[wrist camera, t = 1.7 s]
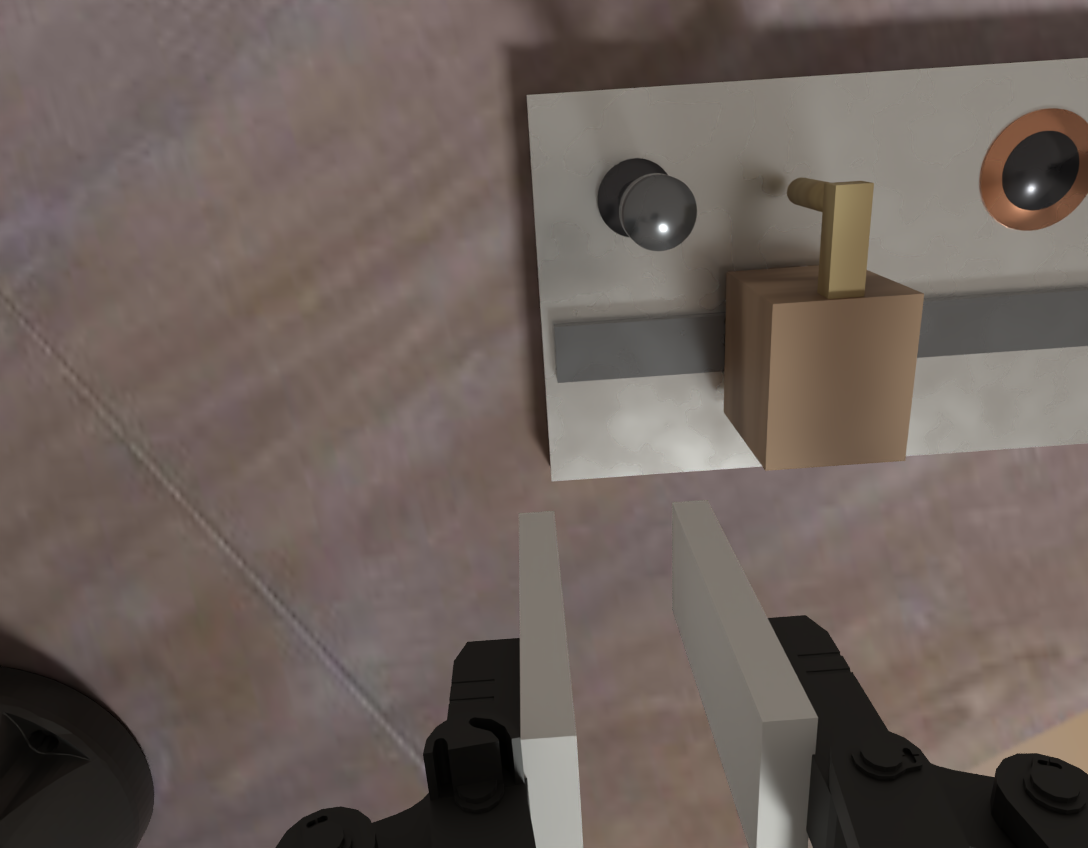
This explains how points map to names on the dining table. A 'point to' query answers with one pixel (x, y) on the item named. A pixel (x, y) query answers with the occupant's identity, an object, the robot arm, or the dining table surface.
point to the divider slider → (822, 346)
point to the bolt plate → (810, 249)
